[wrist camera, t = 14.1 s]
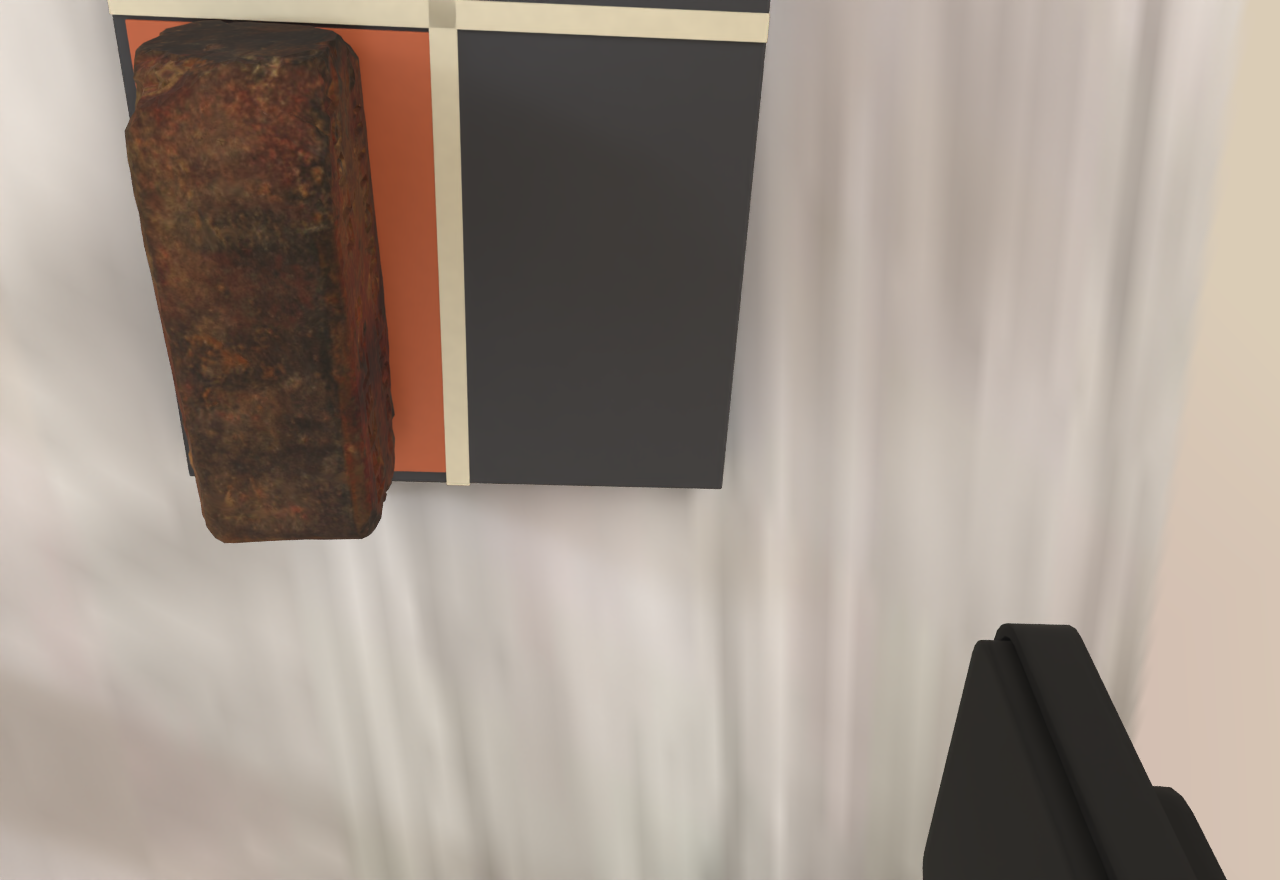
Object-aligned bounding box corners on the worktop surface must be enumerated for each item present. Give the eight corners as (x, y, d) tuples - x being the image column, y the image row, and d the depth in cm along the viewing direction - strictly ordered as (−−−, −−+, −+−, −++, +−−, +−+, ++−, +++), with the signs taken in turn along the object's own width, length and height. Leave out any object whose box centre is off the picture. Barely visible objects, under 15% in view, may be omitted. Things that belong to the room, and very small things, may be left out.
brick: (407, 441, 31) (380, 548, 27) (251, 443, 31) (201, 550, 27) (362, 12, 26) (319, 68, 22) (173, 12, 26) (95, 68, 22)
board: (830, -696, 21) (843, -718, 20) (718, 465, 34) (722, 492, 33) (8, -757, 21) (-25, -784, 20) (202, 452, 33) (187, 479, 32)
